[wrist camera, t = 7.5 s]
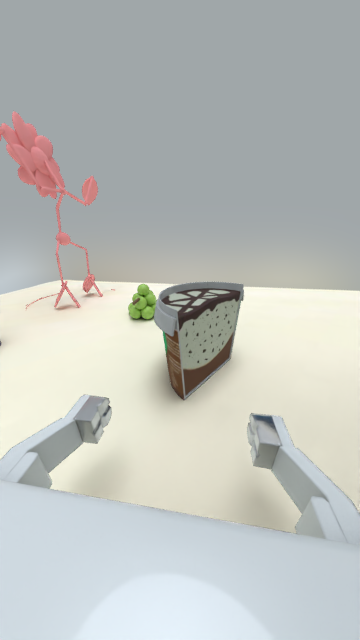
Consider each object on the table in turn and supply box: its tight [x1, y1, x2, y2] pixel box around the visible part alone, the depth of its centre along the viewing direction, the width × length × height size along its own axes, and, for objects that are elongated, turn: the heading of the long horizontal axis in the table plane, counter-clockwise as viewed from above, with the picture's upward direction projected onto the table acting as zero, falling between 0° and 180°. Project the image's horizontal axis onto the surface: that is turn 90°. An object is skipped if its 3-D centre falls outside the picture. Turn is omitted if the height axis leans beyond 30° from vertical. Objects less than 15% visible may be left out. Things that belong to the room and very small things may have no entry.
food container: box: [154, 282, 244, 400], centre depth 22 cm, size 12×6×10 cm, turn 137°
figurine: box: [0, 112, 113, 309], centre depth 41 cm, size 15×26×35 cm, turn 169°
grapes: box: [128, 284, 157, 319], centre depth 38 cm, size 7×11×6 cm, turn 172°
